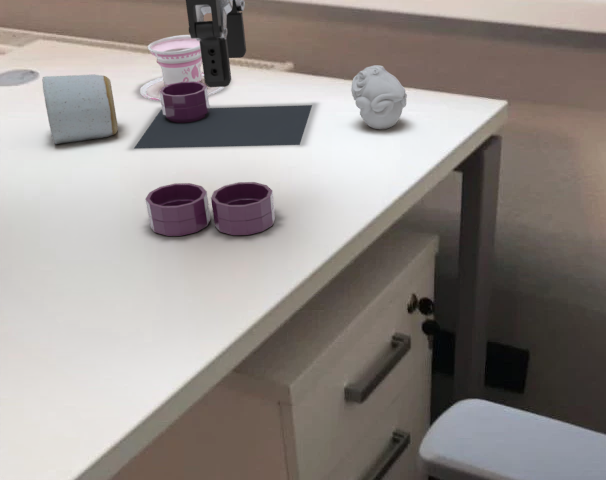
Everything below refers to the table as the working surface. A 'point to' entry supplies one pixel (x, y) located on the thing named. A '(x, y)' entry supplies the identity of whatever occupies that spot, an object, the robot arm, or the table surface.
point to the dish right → (243, 208)
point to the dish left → (184, 101)
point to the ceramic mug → (79, 107)
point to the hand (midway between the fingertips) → (227, 70)
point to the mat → (230, 128)
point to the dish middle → (178, 209)
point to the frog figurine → (378, 97)
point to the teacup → (176, 62)
